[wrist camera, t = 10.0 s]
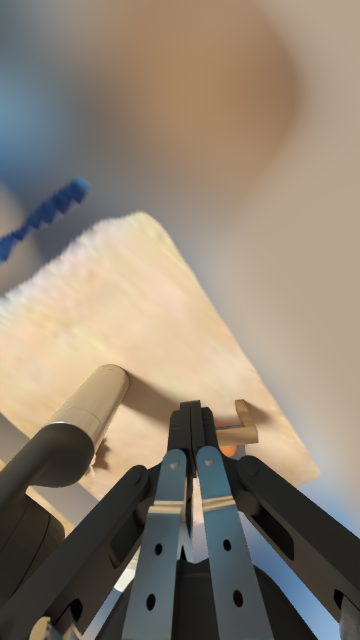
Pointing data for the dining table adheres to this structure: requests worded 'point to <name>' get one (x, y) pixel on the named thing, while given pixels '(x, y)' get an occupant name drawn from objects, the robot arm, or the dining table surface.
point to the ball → (228, 450)
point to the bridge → (239, 429)
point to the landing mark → (240, 448)
